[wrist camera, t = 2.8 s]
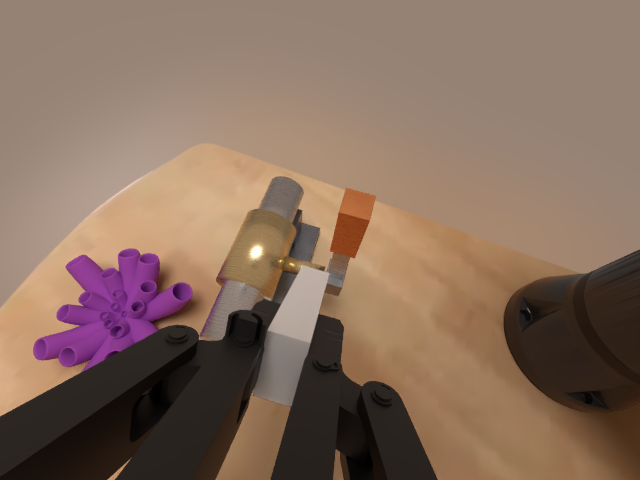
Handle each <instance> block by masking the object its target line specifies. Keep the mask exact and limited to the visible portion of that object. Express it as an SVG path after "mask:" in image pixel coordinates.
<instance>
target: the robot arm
mask: <svg viewBox="0 0 640 480" xmlns="http://www.w3.org/2000/svg"><path fill="white" fill-rule="evenodd" d="M328 277H329V273H328V272H324V271H321V270H317V269H313V268H310V267H306V266H302V267H301V269H300V271H299V273H298V275H297V277H296V278H295V280H294V282H293V284H292V286H291V288H290V289H289V291H288V293H287V295H286V297H285V299H284V301H283V302H282V304H279V303H276V302H272V301H269V300H265V299H263V300H261V301H259V302H257V303H256V304H255V305H254V306H253V308H252V310H237V311H234V312H232V313H230V314H229V316H228V321H227V326H226V332H225V336H224V337H223V339H222V340H217V341H208V340H198V339H199V335H198V333H197V331H196V330H194V329H193V328H191V327H188V326H185V325H173V326H168V327H165V328H162V329H160V330H159V331H157V332H155V333H153V334H151V335H149V336H147V337H146V338H144V339H142V340H140V341H138V342H136V343H135V344H133V345H131V346H129V347H127V348H125V349H124V350H122V351H120V352H118V353H116V354H114V355H113V356H111V357H109V358H107V359H105V360H103V361H102V362H100V363H98V364H96V365H94V366H92V367H91V368H89V369H87V370H85V371H83V372H81V373H79V374H78V375H76V376H74V377H72V378H70V379H68V380H67V381H65V382H63V383H61V384H59V385H57V386H56V387H54V388H52V389H50V390H48V391H46V392H45V393H43V394H41V395H39V396H37V397H35V398H34V399H32V400H30V401H28V402H26V403H24V404H23V405H21V406H19V407H17V408H15V409H13V410H11V411H10V412H8V413H6V414H4V415H2V416H0V480H107V479H109V478H110V477H111V476H112V475H113V474H114V473H115V472H116V471H117V470H118V469H120V468H121V467H122V466H123V465H124V464H125V463H126V462H127V461H128V460H129V459H130V458H131V459H130V461H129V462H128V463H127V465H126V466H125V467H124V469H123V470H122V471H121V473H120V474H119V475H118V477H117V478H116V479H115V480H215V479H216V477H217V475H218V473H219V470H220V468H221V466H222V464H223V462H224V459H225V457H226V455H227V453H228V450H229V448H230V446H231V444H232V442H233V439H234V437H235V435H236V433H237V430H238V428H239V426H240V424H241V421H242V419H243V417H244V415H245V413H246V410H247V408H248V405H249V400H250V396H251V393H252V391H253V389H254V392H253V396H256V397H260V398H263V399H266V400H269V401H273V402H276V403H279V404H282V405H286V406H289V407H291V409H290V413H289V416H288V420H287V423H286V427H285V431H284V434H283V438H282V441H281V445H280V448H279V452H278V455H277V459H276V462H275V466H274V469H273V473H272V477H271V480H333V471H334V460H335V449H337V450H338V451H340V460H341V466H342V472H343V478H344V480H438V479H437V477H436V475H435V473H434V470H433V468H432V466H431V464H430V461H429V459H428V457H427V455H426V453H425V450H424V448H423V446H422V444H421V441H420V439H419V437H418V435H417V432H416V430H415V428H414V426H413V423H412V421H411V419H410V417H409V415H408V412H407V410H406V408H405V406H404V403H403V401H402V399H401V397H400V396H399V394H398V393H397V392H396V391H395V390H394V389H393V388H391V387H390V386H388V385H386V384H384V383H381V382H377V381H369V382H367V383H365V384H364V385H363V387H362V386H360V385H358V384H356V383H355V382H353V381H352V380H350V379H349V378H348V377H347V376H346V375H345V374H344V372H343V371H342V365H341V364H340V362H341V352H342V341H343V331H344V327H343V325H342V323H341V321H340V320H338V319H334V318H331V317H327V316H324V315H320V314H319V310H320V306H321V302H322V299H323V295H324V291H325V288H326V284H327V280H328ZM504 325H505V333H506V338H507V342H508V345H509V347H510V350H511V352H512V354H513V356H514V358H515V360H516V362H517V363H518V365H519V367H520V368H521V369H522V371H523V372H524V373H525V375H526V376H527V377H528V378H529V379H530V381H531V382H532V383H533V384H534V385H535V386H536V387H538V388H539V389H540V390H541V391H542V392H543V393H545V394H546V395H547V396H549V397H550V398H552V399H553V400H555V401H557V402H559V403H561V404H563V405H565V406H567V407H570V408H573V409H576V410H580V411H587V412H613V411H619V410H623V409H626V408H628V407H631V406H633V405H635V404H637V403H639V402H640V250H638V251H636V252H633V253H631V254H629V255H627V256H625V257H623V258H621V259H618V260H616V261H614V262H611V263H609V264H607V265H605V266H602V267H600V268H598V269H596V270H594V271H592V272H590V273H587V274H577V275H566V276H554V277H546V278H542V279H539V280H536V281H534V282H532V283H530V284H528V285H526V286H524V287H522V288H521V289H519V290H518V291H517V292H516V293H515V294H514V295H513V296H512V297H511V299H510V301H509V303H508V305H507V308H506V312H505V319H504Z"/></svg>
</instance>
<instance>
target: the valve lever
mask: <svg viewBox="0 0 640 480" xmlns="http://www.w3.org/2000/svg"><path fill="white" fill-rule="evenodd" d="M375 197H376V196H373V195H370V194H367V193H363V192H359V191H355V190H352V189H348V188H346V190H345V194H344V197H343V200H342V204H341V207H340V210H339V214H338V218H337V223H336V227H335V231H334V235H333V240H332V244H331V248H330V251H331V252H334V253H333V257H332V259H330V262H329V265H328V269H327V272H328V273H329V277H328V280H327V284H326V288H325V291H324V292H325V293H328V294H332V295H335V296H339V294H340V291H341V289H342V285H343V282H344V278H345V274H346V270H347V266H348V262H349V260H350V257H352V258H355V256H356V254H357V251H358V249H359V246H360V244H361V241H362V239H363V236H364V234H365V232H366V229H367V227H368V224H369V222H370V218H371V214H372V210H373V206H374V202H375Z"/></svg>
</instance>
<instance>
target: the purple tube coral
mask: <svg viewBox="0 0 640 480" xmlns="http://www.w3.org/2000/svg"><path fill="white" fill-rule="evenodd" d="M118 263H119V272H118V271H117V270H116V269H115V268H109V269H106V270H104V271H103V270H102V269H101V268H100V267H99V266H98V265H97V264H96V263H95V262H94V261H93V260H91V259H90V258H89V257H88V256H86V255H81V256H79V257H77V258H75V259H74V260H72V261H71V262H69V263H68V264H67V265H66V269H67V270H68V272H69V273H70V274H71V275H72V276H73V278H74V279H75V280H76V281H77V282H78V283H79V284H80V285H81V286H82V288H83V289H84V290H85V291H86V292H84V293H82V294H81V295H80V297H79V303H81V304H82V305H83V306H77V305H69V304H67V305H63V306H62V307H61V308H60V309H59V310H58V312H57V316H56V317H57V319H58V320H59V321H62V322H65V323H69V324H74V325H81V326H79V327H76V328H74V329H71V330H68V331H64V332H60V333H57V334H53V335H49V336H45V337H42V338H40V339H38V340H37V341H36V342H35V344H34V349H33V352H34V356H35V358H36V359H38V360H50V359H56V358H59V361H60V363H61V364H62V365H63V366H66V367H71V366H75V365H78V364H81V363H84V362H86V361H88V360H90V359H91V360H90V362H89V363H88V364H87V366H86V367H85V368H84V369H83V371H85V370H87V369H89V368H91V367H92V366H94V365H96V364H98V363H100V362H102V361H103V360H105V359H107V358H109V357H111V356H113V355H114V354H116V353H118V352H120V351H122V350H124V349H125V348H127V347H129V346H131V345H133V344H135V343H136V342H138V341H140V340H142V339H144V338H146V337H147V336H149V335H151V334H153V333H155V332H157V331H159V329H158V328H157V327H156V326H154V325H153V324H152V323H151V321H155V320H158V319H161V318H163V317H166V316H169V315H171V314H173V313H175V312H177V311H178V310H180V309H181V308H183V307H184V306H185V305H186V304H187V303H188V302H189V301H190V299H191V297H192V294H193V292H192V289H191V287H190V286H189V285H188V284H186V283H183V282H181V283H176V284H174V285H173V286H171V287H170V288H168V289H167V290H165V291H164V292H161V293H159V294H157V284H156V283H157V280H158V276H159V270H160V262H159V258H158V256H157V255H155V254H151V253H147V254H143V255H140V253H139V251H138V250H136V249H126V250H123V251H121V252H120V253H119V254H118ZM83 371H82V372H83Z"/></svg>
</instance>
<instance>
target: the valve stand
mask: <svg viewBox="0 0 640 480" xmlns="http://www.w3.org/2000/svg"><path fill="white" fill-rule="evenodd" d="M303 194H304V192H303V189H302V187H301V186H300V185H299V184H298V183H297V182H296V181H294V180H292V179H290V178H287V177H275V178H273V179H272V180H271V182H270V185H269V187H268V189H267V191H266V193H265V195H264V197H263V200H262V202H261V204H260V206H259V208H258V209H254V210H251V211H249V212H248V213H247V216H246V218H245V220H244V222H243V224H242V226H241V228H240V230H239V232H238V234H237V236H236V238H235V241H234V243H233V245H232V247H231V249H230V251H229V253H228V255H227V257H226V259H225V261H224V263H223V265H222V268H221V270H220V272H219V274H218V276H217V278H216V281H217V283H218V284H219V285H220V286H222V288H221V290H220V292H219V294H218V297H217V299H216V301H215V303H214V305H213V307H212V310H211V312H210V314H209V316H208V318H207V320H206V323H205V325H204V327H203V329H202V331H201V333H200V335H199V337H200V338H202V339H204V340H208V341H217V340H222V339H223V337H224V336H225V332H226V326H227V321H228V316H229V314H230V313H232V312H234V311H237V310H252V308H253V306H254V305H255V304H256V303H257V302H259V301H261V300H263V299H265V300H269V301H272V302H276V303H279V304H282V302H283V301H284V299H285V297H286V295H287V293H288V291H289V289H290V288H291V286H292V284H293V282H294V280H295V278H296V277H297V275H298V273H299V271H300V269H301V267H302V266H306V267H310V268H313V269H317V270H321V271H324V270H325V267H324V266H321V265H317V264H314V263H310V261H311V258H312V255H313V251H314V248H315V245H316V242H317V239H318V236H319V233H320V228H318V227H315V226H311V225H308V224H304V223H302V210H299V209H298V207H299V205H300V202H301V200H302V197H303Z"/></svg>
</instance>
